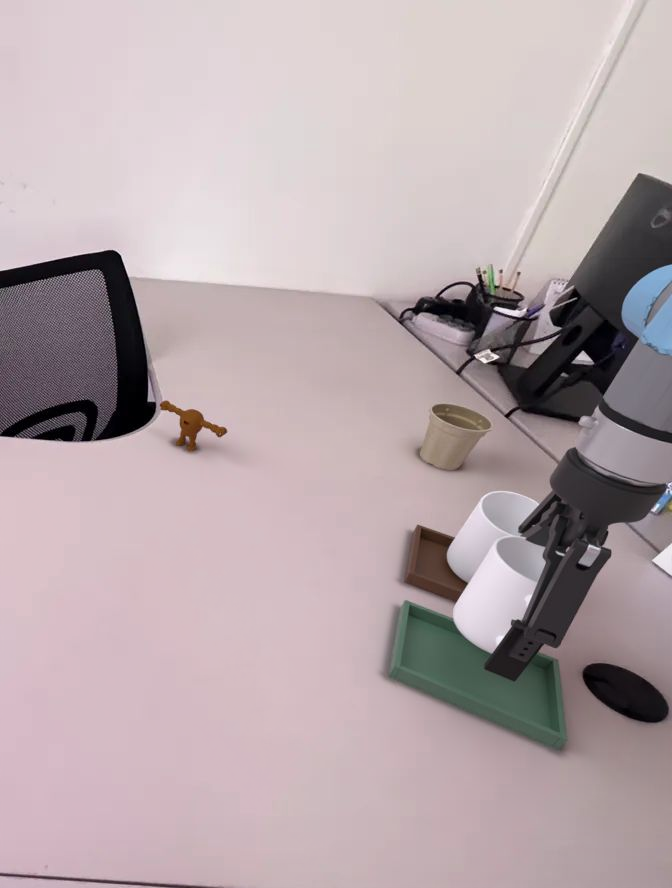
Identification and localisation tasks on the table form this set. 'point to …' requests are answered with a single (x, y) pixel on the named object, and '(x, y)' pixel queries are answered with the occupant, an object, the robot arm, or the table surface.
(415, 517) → the table surface
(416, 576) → the walnut tray
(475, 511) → the mug
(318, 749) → the table surface
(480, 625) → the cup
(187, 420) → the toy figurine
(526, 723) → the green tray
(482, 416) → the flower pot
